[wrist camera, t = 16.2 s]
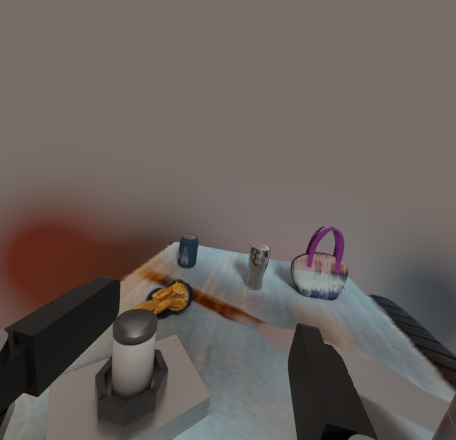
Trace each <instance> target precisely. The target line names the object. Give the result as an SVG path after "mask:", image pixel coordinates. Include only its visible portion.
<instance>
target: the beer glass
mask: <svg viewBox="0 0 456 440" xmlns="http://www.w3.org/2000/svg"><path fill="white" fill-rule="evenodd" d="M270 250H271V248H270V247H269V246H267V245H264V244H260V243H254V244H252V247H251V251H250V255H249V262H248V277H247V280H246V282H245V285H246V286H247V287H248V288H250V289H252V290H260V289H261V288H262V279H263V276H264V273H265V271H266V268H267V266H268V262H269V258H270Z"/></svg>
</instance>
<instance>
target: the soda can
mask: <svg viewBox="0 0 456 440" xmlns="http://www.w3.org/2000/svg"><path fill="white" fill-rule="evenodd" d="M197 249H198V239H197V236H196V235H193V234H184V235H182V238H181V240H180V247H179V256H178V263H179V265H180V266H181V267H182V268H192V267H193V266H194V265H195V264H196V257H197Z"/></svg>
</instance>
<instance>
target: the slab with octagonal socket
mask: <svg viewBox="0 0 456 440" xmlns="http://www.w3.org/2000/svg"><path fill="white" fill-rule="evenodd" d="M111 383H112V356H111V357H110V358H108V359H105V360H102V361H99V362H97V363H94V364H91V365H88V366H85V367H83V368H80V369H77V370H74V371H71V372H69V373H66V374H63V375H60V376H59V377H58V378H57V379H56V380H55V381H54V382H53V383H52V384H51V385H50V391H49V403H48V415H47V427H46V438H45V440H171V439H173V438H174V437H176V436H177V435H179V434H180V433H182V432H183V431H185V430H186V429H188V428H189V427H191V426H192V425H194V424H195V423H197V422H198V421H200V420H201V419H203V418H204V417H206V416H207V415H208V411H209V405H210V399H211V395H210V393H209V391H208V390H207V388H206V386H205V384H204V382H203V381H202V379H201V377H200V375H199V373H198V372H197V370H196V368H195V366H194V365H193V363H192V361H191V359H190V357H189V356H188V354H187V352H186V350H185V349H184V347H183V345H182V343H181V341H180V340H179V338H178V336H177V334H175V335H172V336H169V337H167V338H164V339H161V340H158V341H155V351H154V363H153V374H152V385H151V389H150V390H148V391H146V392H144V393H142V394H140V395H138V396H136V397H133V398H131V399H129V400H124V399H121V398H118V397H115V396H112V395H111Z"/></svg>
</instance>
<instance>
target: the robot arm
mask: <svg viewBox="0 0 456 440" xmlns="http://www.w3.org/2000/svg"><path fill="white" fill-rule="evenodd" d="M119 304H120V281H119V280H118V279H114V278H110V277H106V276H100V277H98V278H96V279H95V280H93V281H92V282H90V283H88V284H85V285H82V286H79V287H77V288H74V289H71V290H70V291H68V292H66V293H65V294H63V295H61V296H60V298H56V299H54V300H53V301H51V302H50V303H49V304H46V305H44V306H43V307H41V308H39V309H38V310H36V311H34V312H32V313H31V314H29V315H27V316H26V317H24V318H22V319H21V320H19V321H17V322H16V323H14V324H12V325H11V326H9V327H7V328H6V329H4V330H3V329H0V440H2V439H3V437H4V434H5V432H6V429H7V426H8V424H9V421H10V419H11V416H12V413H13V411H14V407H15V400H16V399H17V398H18V397H19V396H21V395H22V394H23V393H26V394H29V395H32V396H35V397H39V396H40V395H41V394H42V393H43V392H44V391H45V390H46V389H47V388H48V387H49V386H50V385H51V384H52V383H53V382H54V381H55V380H56V379H57V378H58V377H59V376H60V375H61V374H62V373H63V372H64V371H65V370H66V369H67V368H68V367H69V366H70V365H71V364H72V363H73V362H74V361H75V360H76V359H77V358H78V357H79V356H80V355H81V354H82V353H83V352H84V351H85V350H86V349H87V348H88V347H89V346H90V345H91V344H92V343H93V342H94V341H95V340H96V339H97V338H98V337H99V336H100V335H101V334H103V333H104V332H105V331H106V330H107V329H108V328H109V327H110V326H111V325H112V324H113V322H114V321H115V319H116V318H117V315H118V313H119ZM288 373H289V381H290V388H291V396H292V403H293V411H294V418H295V426H296V433H297V440H378V439H377V436H376V434H375V432H374V429H373V427H372V425H371V423H370V420H369V418H368V416H367V414H366V411H365V409H364V407H363V404H362V402H361V400H360V398H359V395H358V393H357V391H356V389H355V387H354V386H353V382H352V379H351V377H350V375H348V370H347V368H346V366H345V364H344V361H343V359H342V357H341V356H340V355H339V354H338V353H337V351H336V350H335V349H334V348H333V347H332V345H328V344H324V341H323V339H322V336H321V333H320V331H319V329H318V328H316V327H312V326H308V325H304V324H300V323H299V324H298V325H297V327H296V331H295V334H294V338H293V342H292V345H291V349H290V353H289V359H288ZM432 440H456V394H455V396H454V398H453V399H452V401H451V403H450V405H449V408H448V410H447V412H446V413H445V415H444V417H443V420H442V421H441V423H440V425H439V427H438V429H437V431H436V433H435V435H434V437H433V439H432Z"/></svg>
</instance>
